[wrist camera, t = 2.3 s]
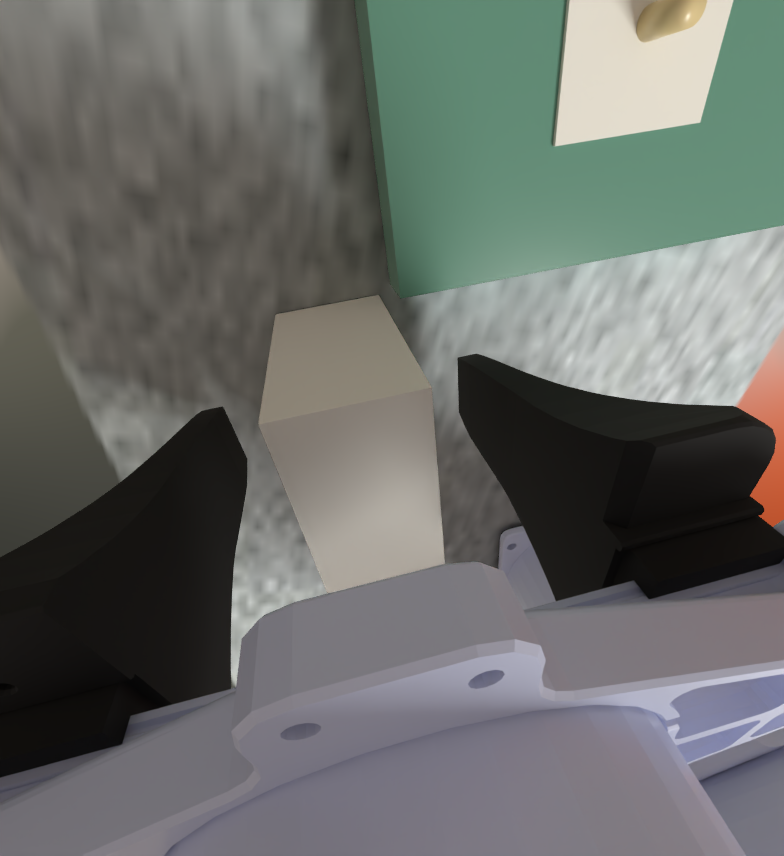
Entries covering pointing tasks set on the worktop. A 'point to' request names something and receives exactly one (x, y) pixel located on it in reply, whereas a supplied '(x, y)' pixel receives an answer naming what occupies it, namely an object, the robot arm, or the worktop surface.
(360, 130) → the worktop surface
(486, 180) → the circuit board
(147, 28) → the worktop surface
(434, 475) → the block
